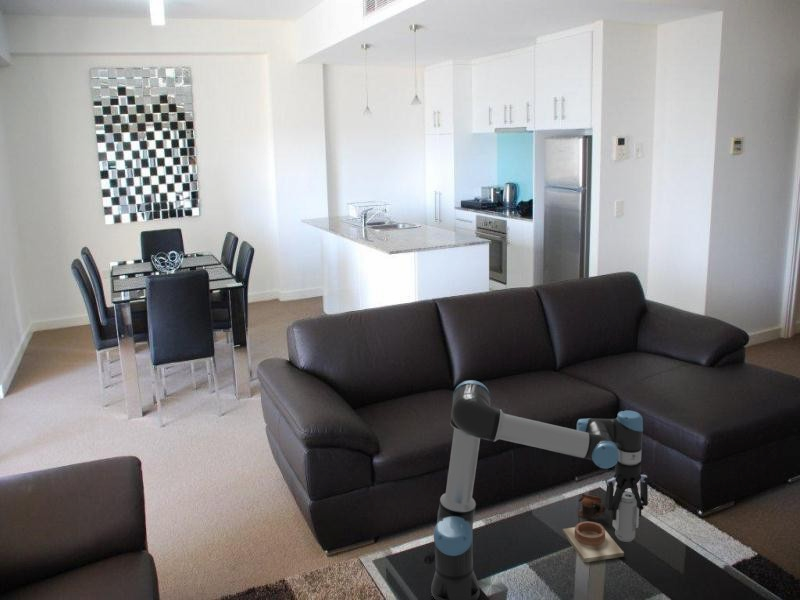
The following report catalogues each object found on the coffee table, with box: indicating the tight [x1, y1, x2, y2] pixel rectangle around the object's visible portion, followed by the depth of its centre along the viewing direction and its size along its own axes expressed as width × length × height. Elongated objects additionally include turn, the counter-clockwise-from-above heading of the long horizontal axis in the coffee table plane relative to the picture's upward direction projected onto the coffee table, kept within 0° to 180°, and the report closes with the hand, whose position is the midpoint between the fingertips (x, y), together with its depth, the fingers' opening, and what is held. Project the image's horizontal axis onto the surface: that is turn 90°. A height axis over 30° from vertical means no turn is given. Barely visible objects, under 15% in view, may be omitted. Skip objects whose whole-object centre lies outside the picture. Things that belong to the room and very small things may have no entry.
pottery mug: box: [578, 493, 606, 520], centre depth 255 cm, size 12×10×8 cm
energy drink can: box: [614, 490, 637, 543], centre depth 218 cm, size 6×6×15 cm
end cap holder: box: [562, 520, 625, 563], centre depth 236 cm, size 14×18×4 cm
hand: (625, 526), depth 218 cm, fingers closed on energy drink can, 6 cm apart
